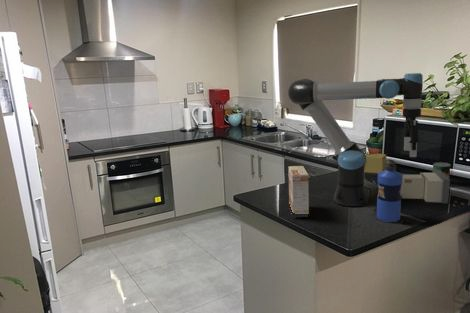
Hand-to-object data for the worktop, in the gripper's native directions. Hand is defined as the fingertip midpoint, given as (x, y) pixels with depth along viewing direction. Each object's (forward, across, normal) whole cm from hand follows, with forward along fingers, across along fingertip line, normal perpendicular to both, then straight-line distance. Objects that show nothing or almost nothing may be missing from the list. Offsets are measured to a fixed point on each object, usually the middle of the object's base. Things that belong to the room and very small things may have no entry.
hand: (409, 153), depth 172 cm
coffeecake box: (+21, -26, +50) cm, 60 cm away
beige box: (+21, 0, -2) cm, 21 cm away
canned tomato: (+21, +20, -19) cm, 35 cm away
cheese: (+21, +45, +10) cm, 51 cm away
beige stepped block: (+21, 0, -11) cm, 24 cm away
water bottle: (+21, -29, +13) cm, 38 cm away
